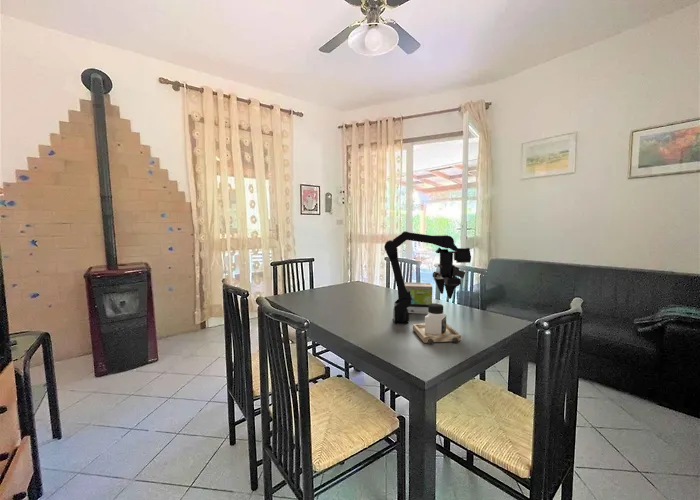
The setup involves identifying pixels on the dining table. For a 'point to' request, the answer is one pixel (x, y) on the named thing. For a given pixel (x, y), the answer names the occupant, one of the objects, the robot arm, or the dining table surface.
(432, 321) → the medicine bottle
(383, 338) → the dining table surface
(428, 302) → the tea box
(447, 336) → the trolley
